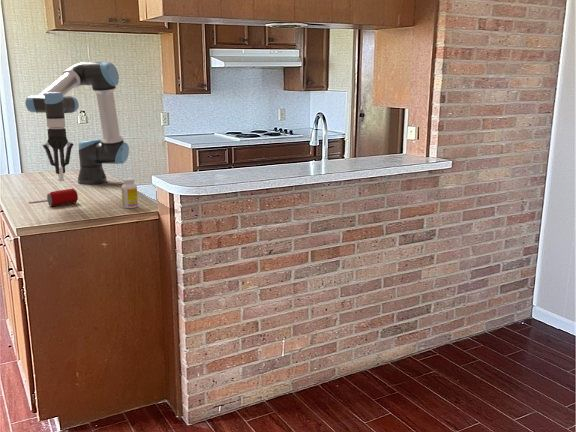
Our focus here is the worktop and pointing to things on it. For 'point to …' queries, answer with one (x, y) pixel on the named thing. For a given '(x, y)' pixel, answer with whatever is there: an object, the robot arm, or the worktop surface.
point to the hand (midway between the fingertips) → (61, 180)
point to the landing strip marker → (38, 201)
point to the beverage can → (62, 197)
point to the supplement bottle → (129, 193)
